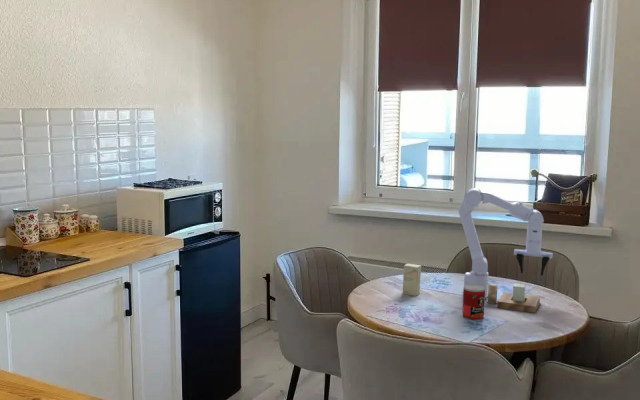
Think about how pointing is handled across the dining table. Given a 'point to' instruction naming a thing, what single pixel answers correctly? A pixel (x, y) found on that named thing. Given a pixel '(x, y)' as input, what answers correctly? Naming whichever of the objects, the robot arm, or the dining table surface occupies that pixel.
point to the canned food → (473, 301)
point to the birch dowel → (492, 293)
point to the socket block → (518, 303)
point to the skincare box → (411, 279)
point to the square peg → (519, 292)
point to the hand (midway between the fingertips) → (531, 273)
